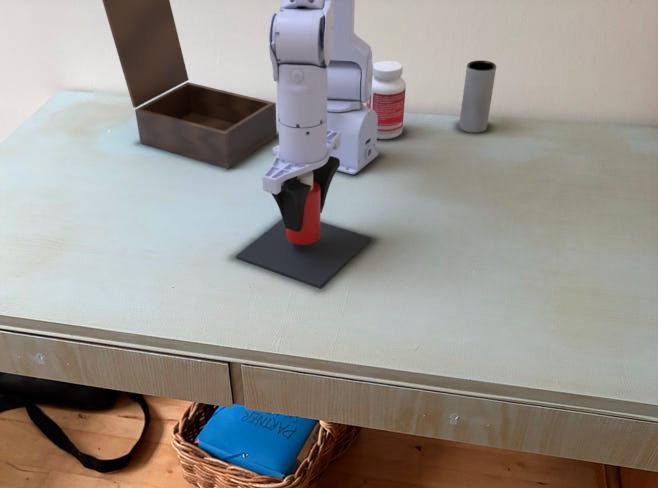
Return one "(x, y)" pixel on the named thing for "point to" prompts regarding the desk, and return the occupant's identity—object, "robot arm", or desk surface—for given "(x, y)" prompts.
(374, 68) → the pill bottle
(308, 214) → the ketchup
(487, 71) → the grey tube
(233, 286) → the desk surface
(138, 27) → the brown box lid
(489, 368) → the desk surface
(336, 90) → the robot arm
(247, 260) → the mat
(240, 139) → the brown wooden open box
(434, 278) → the desk surface
